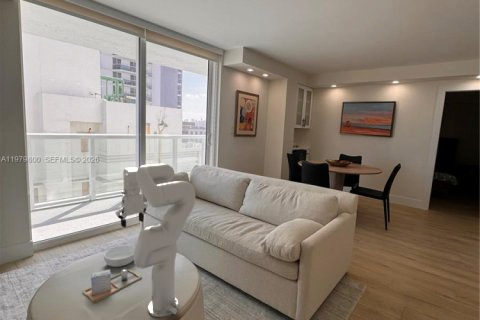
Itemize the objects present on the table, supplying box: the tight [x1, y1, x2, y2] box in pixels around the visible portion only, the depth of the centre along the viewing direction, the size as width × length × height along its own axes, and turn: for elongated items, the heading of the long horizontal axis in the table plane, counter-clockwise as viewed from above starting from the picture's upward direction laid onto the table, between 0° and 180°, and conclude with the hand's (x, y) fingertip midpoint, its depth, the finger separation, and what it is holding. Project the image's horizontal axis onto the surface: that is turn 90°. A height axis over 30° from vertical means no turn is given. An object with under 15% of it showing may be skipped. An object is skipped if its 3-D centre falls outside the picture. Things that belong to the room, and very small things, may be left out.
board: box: [82, 269, 143, 304], centre depth 122 cm, size 13×23×2 cm, turn 145°
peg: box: [120, 268, 128, 281], centre depth 126 cm, size 3×3×5 cm
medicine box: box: [90, 269, 112, 295], centre depth 117 cm, size 8×4×9 cm, turn 120°
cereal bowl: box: [103, 245, 135, 268], centre depth 143 cm, size 17×17×7 cm
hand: (132, 223), depth 129 cm, fingers open, 9 cm apart
